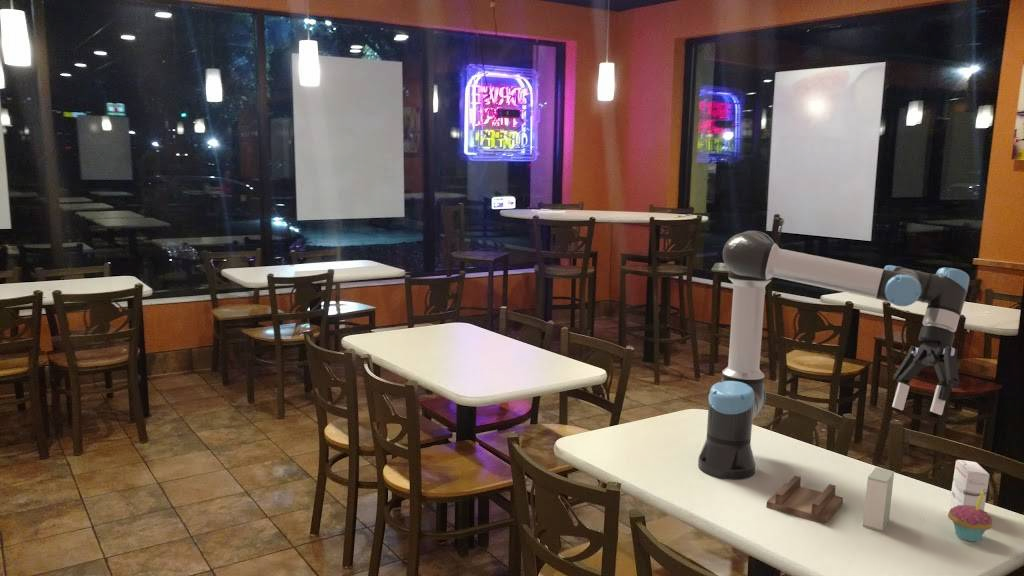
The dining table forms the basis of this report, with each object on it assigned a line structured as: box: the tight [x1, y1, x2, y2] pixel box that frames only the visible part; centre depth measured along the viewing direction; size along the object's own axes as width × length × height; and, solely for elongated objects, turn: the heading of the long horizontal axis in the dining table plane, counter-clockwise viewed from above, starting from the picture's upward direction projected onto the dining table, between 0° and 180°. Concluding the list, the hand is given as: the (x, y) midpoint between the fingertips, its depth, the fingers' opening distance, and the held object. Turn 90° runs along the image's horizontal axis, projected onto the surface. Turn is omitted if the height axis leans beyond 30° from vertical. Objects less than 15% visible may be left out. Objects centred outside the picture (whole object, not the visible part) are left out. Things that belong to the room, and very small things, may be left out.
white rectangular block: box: [949, 459, 990, 511], centre depth 185 cm, size 9×5×12 cm, turn 168°
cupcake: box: [947, 489, 993, 542], centre depth 172 cm, size 9×8×12 cm
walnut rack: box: [766, 475, 844, 525], centre depth 187 cm, size 14×15×4 cm
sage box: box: [862, 466, 895, 532], centre depth 178 cm, size 4×8×12 cm, turn 143°
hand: (915, 410), depth 187 cm, fingers open, 13 cm apart
